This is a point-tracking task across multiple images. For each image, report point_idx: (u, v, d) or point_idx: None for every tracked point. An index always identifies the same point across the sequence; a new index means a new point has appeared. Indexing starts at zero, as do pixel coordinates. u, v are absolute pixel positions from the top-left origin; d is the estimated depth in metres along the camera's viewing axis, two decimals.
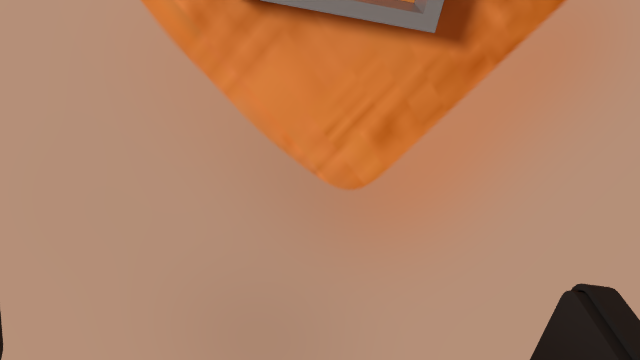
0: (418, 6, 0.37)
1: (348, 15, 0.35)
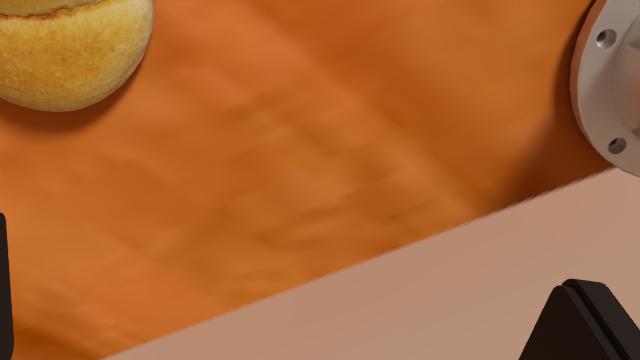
0: None
1: None
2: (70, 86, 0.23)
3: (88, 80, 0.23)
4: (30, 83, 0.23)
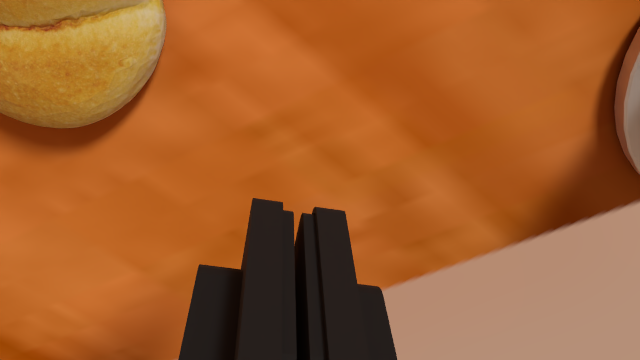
0: None
1: None
2: (75, 102, 0.21)
3: (94, 96, 0.21)
4: (31, 99, 0.21)
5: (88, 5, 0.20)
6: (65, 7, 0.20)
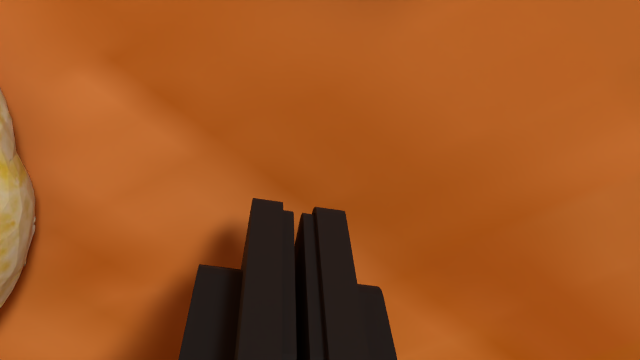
0: None
1: None
2: None
3: None
4: None
5: None
6: None
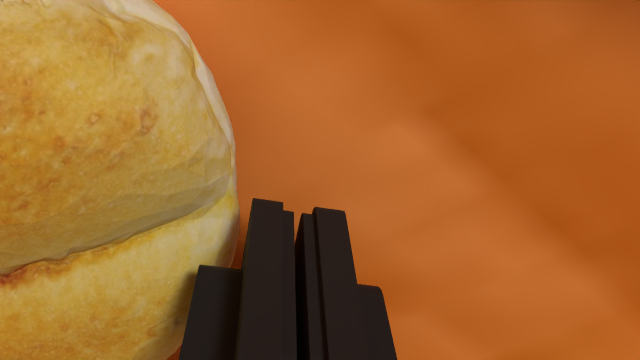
0: None
1: None
2: None
3: None
4: None
5: (88, 237, 0.09)
6: (36, 248, 0.09)
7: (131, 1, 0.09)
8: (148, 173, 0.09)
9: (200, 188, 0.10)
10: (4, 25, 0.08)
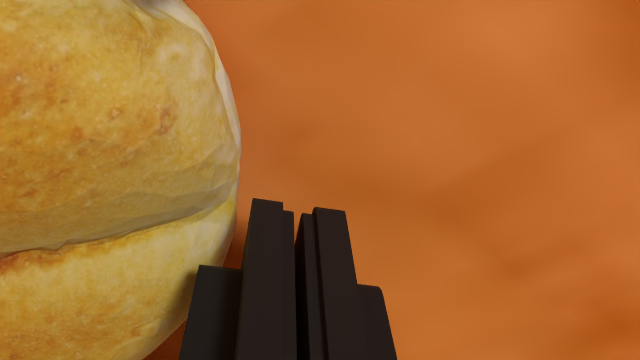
0: None
1: None
2: None
3: None
4: None
5: (88, 231, 0.09)
6: (32, 237, 0.08)
7: None
8: (160, 172, 0.09)
9: (206, 192, 0.10)
10: (35, 6, 0.07)
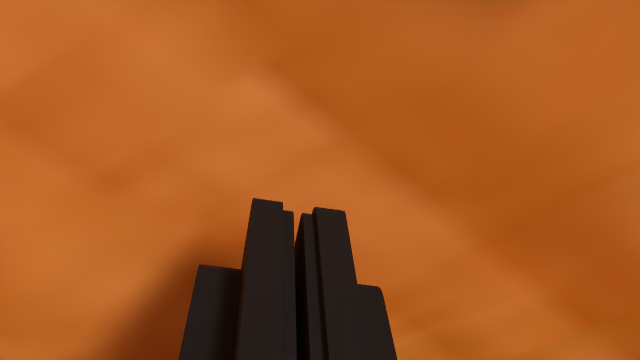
0: None
1: None
2: None
3: None
4: None
5: None
6: None
7: None
8: None
9: None
10: None
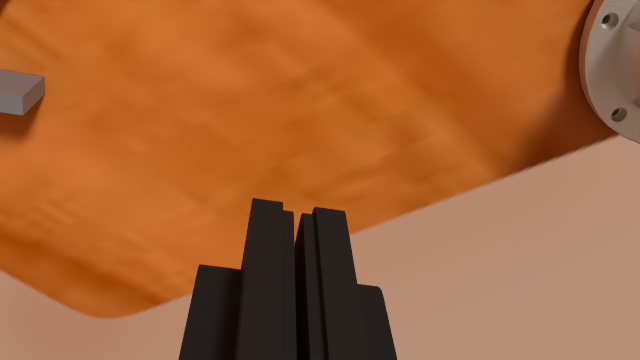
0: None
1: None
2: None
3: None
4: None
5: None
6: None
7: None
8: None
9: None
10: None
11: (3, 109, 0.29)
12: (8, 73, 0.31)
